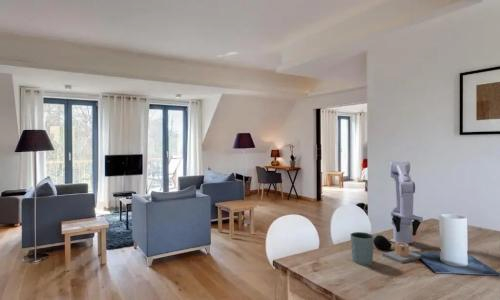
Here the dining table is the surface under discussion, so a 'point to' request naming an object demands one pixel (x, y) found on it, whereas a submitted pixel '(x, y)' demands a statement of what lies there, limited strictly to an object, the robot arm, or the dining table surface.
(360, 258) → the green cup
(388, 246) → the light bulb
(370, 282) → the dining table surface
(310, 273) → the dining table surface
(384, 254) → the duct plate
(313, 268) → the dining table surface
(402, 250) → the collar
